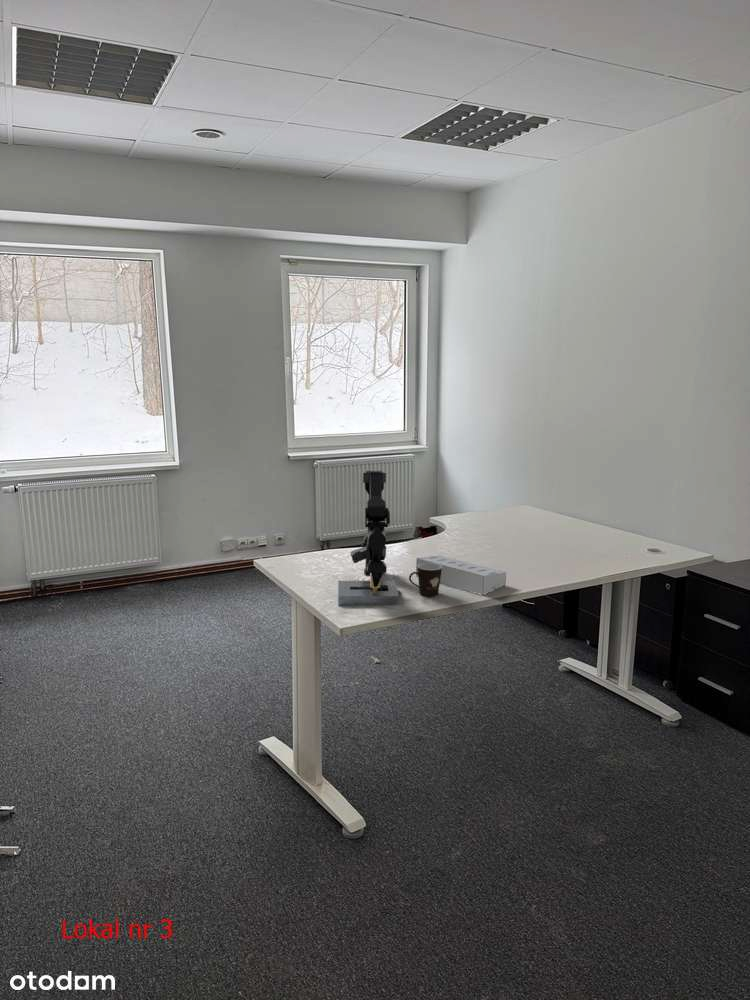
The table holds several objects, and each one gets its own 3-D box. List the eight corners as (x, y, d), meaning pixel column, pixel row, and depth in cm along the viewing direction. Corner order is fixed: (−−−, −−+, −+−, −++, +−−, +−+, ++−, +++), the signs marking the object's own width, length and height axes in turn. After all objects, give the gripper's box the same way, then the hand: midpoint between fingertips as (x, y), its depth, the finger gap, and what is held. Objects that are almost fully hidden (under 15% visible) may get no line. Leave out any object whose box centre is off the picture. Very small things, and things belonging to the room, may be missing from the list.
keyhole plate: (338, 589, 246) (338, 580, 245) (394, 589, 247) (395, 580, 246) (338, 605, 231) (338, 596, 230) (398, 605, 231) (398, 596, 231)
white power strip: (505, 587, 252) (506, 567, 251) (482, 596, 242) (483, 575, 240) (439, 569, 272) (440, 550, 270) (416, 577, 262) (416, 558, 260)
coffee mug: (439, 589, 247) (440, 562, 245) (442, 598, 239) (443, 570, 237) (406, 589, 247) (407, 562, 245) (408, 598, 238) (409, 570, 236)
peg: (368, 593, 241) (368, 567, 239) (381, 593, 241) (381, 567, 239) (368, 598, 237) (369, 571, 235) (381, 598, 237) (382, 571, 235)
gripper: (351, 533, 243) (351, 576, 247) (352, 548, 225) (352, 594, 229) (383, 533, 244) (382, 576, 247) (387, 548, 226) (386, 594, 229)
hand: (375, 584), depth 238 cm, fingers closed on peg, 3 cm apart
